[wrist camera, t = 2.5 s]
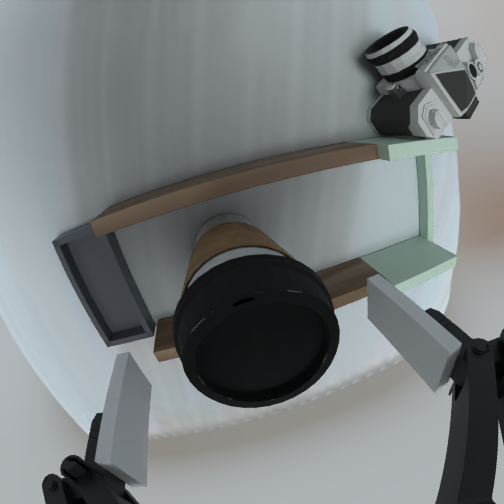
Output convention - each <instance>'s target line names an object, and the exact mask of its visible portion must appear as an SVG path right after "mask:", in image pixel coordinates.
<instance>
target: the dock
mask: <svg viewBox="0 0 504 504" xmlns="http://www.w3.org/2000/svg"><path fill="white" fill-rule="evenodd" d="M349 142H356V143H369V144H377V150H378V157H379V159H383V160H388V161H392V160H397V159H403V158H409V157H414V156H416V160H417V171H418V185H419V209H420V235H419V236H417V237H414V238H412V239H409V240H406V241H404V242H401V243H398V244H396V245H393V246H390V247H388V248H385V249H382V250H379V251H377V252H374V253H371V254H368V255H366V256H363V257H360V258H361V259H362V260H364V261H365V262H366V263H368V264H369V265H370V266H371V267H373V268H374V269H375V270H376V271H378V272H379V273H380V274H381V275H383V276H384V277H385V278H386V280H387V281H388V282H389V283H391V284H392V285H393V286H394V287H396V288H397V289H398V290H399V291H401V292H405V291H407V290H409V289H411V288H413V287H415V286H417V285H419V284H421V283H423V282H425V281H427V280H429V279H431V278H433V277H435V276H437V275H439V274H441V273H443V272H445V271H447V270H449V269H451V268H453V267H454V266H456V257H457V256H456V255H454V254H453V253H451V252H449V251H447V250H445V249H444V248H442V247H440V246H438V245H436V244H435V243H433V215H434V210H433V177H432V163H431V154H433V153H439V152H446V151H453V150H458V141H457V137H452V136H444V135H441V136H440V137H439V139H435V138H425V139H424V138H417V137H411V136H399V135H394V136H382V137H375V138H368V139H361V140H355V141H349Z"/></svg>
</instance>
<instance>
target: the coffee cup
mask: <svg viewBox="0 0 504 504" xmlns="http://www.w3.org/2000/svg"><path fill="white" fill-rule="evenodd" d="M172 331H173V338H174V343H175V348H176V351H177V353H178V356H179V358H180V360H181V362H182V364H183V368H184V372H185V374H186V376H187V377H188V379H189V381H190V382H191V383H192V384H193V386H194V387H195V388H196V389H197V390H198V391H200V392H201V393H203V394H204V395H205V396H207V397H208V398H210V399H213V400H215V401H217V402H219V403H222V404H226V405H229V406H234V407H242V408H257V407H265V406H271V405H274V404H278V403H281V402H284V401H287V400H289V399H291V398H294V397H295V396H297V395H299V394H301V393H302V392H304V391H306V390H307V389H308V388H309V387H311V386H312V385H313V384H315V383H316V382H317V381H318V380H319V379H320V378H321V377H322V375H323V374H324V373H325V372H326V370H327V369H328V367H329V366H330V365H331V363H332V361H333V359H334V356H335V354H336V352H337V348H338V344H339V334H340V329H339V325H338V320H337V318H336V316H335V314H334V306H333V303H332V299H331V296H330V294H329V292H328V290H327V288H326V287H325V285H324V283H323V281H322V280H321V278H320V277H319V276H318V275H317V274H316V273H315V272H314V271H313V270H312V269H310V268H309V267H307V266H306V265H304V264H302V263H301V262H299V261H297V260H295V259H294V258H293V257H292V256H291V255H290V254H288V253H287V252H286V251H285V250H284V249H282V248H281V247H280V246H279V245H278V244H276V243H275V242H274V241H273V240H272V239H270V238H269V237H268V236H267V235H265V234H264V233H263V232H262V231H261V230H259V229H258V228H256V227H255V226H254V225H253V224H252V223H251V222H250V221H249V220H247V219H246V218H244V217H241V216H239V215H234V214H223V215H219V216H216V217H214V218H212V219H210V220H209V221H207V222H206V223H205V224H204V225H203V226H202V227H201V229H200V231H199V232H198V234H197V237H196V240H195V245H194V250H193V252H192V256H191V260H190V263H189V267H188V271H187V275H186V279H185V283H184V287H183V291H182V295H181V299H180V300H179V302H178V304H177V307H176V310H175V313H174V316H173V328H172Z"/></svg>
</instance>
